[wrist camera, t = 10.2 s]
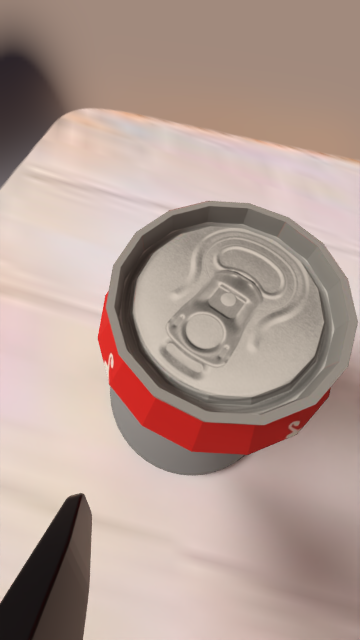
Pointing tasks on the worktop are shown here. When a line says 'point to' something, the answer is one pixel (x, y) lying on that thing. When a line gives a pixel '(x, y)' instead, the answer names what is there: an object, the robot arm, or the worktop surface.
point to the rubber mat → (165, 446)
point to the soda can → (225, 327)
